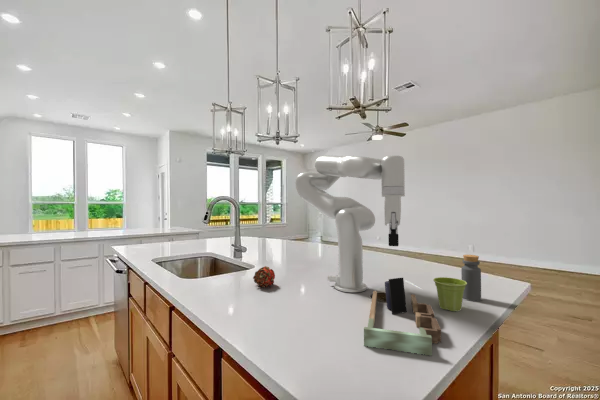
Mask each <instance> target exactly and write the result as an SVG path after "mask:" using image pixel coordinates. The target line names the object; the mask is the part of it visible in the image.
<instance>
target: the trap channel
mask: <svg viewBox="0 0 600 400" xmlns="http://www.w3.org/2000/svg"><path fill="white" fill-rule="evenodd" d="M371 296H372V298H371V304H370V308H369V316H368V322H367V326H364V327H363V347H367V346H368V347H367V348H373V347H376V348H375V349H380V348H384V349H383V350H387V349H392V350H391V351H394V350H398V351H397V352H401V351H404V352H403V353H407V352H411V353H410V354H414V353H417V355H421V354H423V355H422V356H428V355H430V357H432V356H433V344H435V345H436V344H437V345H438V344H439V343H442V329H441V326H440V324H439V321H438V320H437V318H435V313H434V310H433V308H432V305H431V304H427V303H422V302H418V301H417V297H416V294H410V304H411V309H412V313H413V314H415V326H416V328H418V330H419V333H417V332H415V333H414V332H408V331H400V330H394V329H384V328H376V327H375V321H376V313H377V312H376V311H377V304H378V303H377V302H378V291H377V290H373V291H372V295H371ZM424 354H425V355H424Z"/></svg>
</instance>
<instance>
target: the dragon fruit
mask: <svg viewBox="0 0 600 400" xmlns="http://www.w3.org/2000/svg"><path fill="white" fill-rule="evenodd" d="M275 278H276V275H275V271H274V270H273V268H270V267H269V266H266V265H265V266H262V267H260V268H259V269H258V270H256V271H255V272H254V276H253V277H252V279H253V282H254V284H257V286H259V285H260V286H259V287H262V288H264V287H266V288H267V287H268V286H273V285H274V283H275Z"/></svg>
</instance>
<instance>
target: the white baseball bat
mask: <svg viewBox="0 0 600 400" xmlns="http://www.w3.org/2000/svg"><path fill="white" fill-rule="evenodd" d="M403 280H404V283H407V284H409V285H412V286H413V287H416V288H417V289H420V290H423V288H422V287H420V286H418V285H416V283H414V282H412V281H410V280H407V279H403Z"/></svg>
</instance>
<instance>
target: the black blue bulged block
mask: <svg viewBox="0 0 600 400" xmlns="http://www.w3.org/2000/svg"><path fill="white" fill-rule="evenodd" d="M404 280H405V279H404V277H396V278H395V277H394V278H388V281H384V289H385V300H386V308H387V309H388V310H391V314H392V315H398V314H399V315H400V314H404V313H407V312H408V310H407V300H406V291H405V281H404Z"/></svg>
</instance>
